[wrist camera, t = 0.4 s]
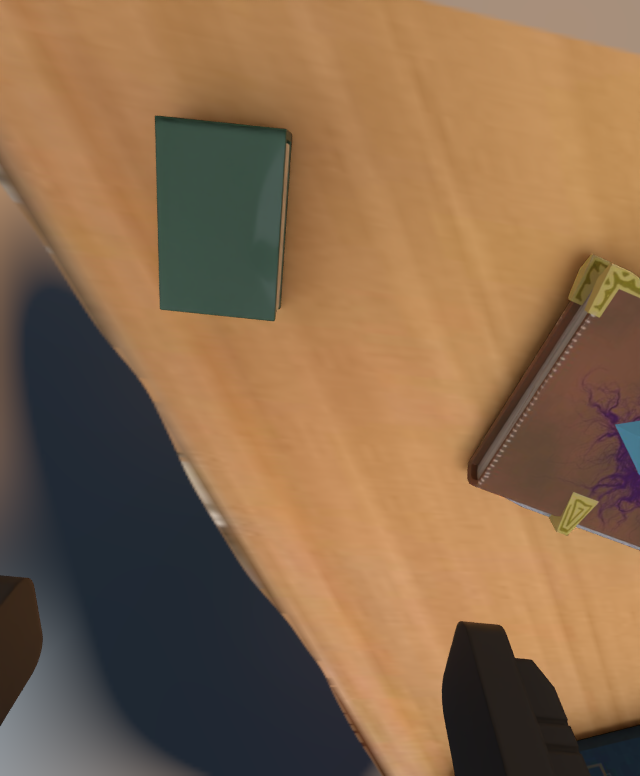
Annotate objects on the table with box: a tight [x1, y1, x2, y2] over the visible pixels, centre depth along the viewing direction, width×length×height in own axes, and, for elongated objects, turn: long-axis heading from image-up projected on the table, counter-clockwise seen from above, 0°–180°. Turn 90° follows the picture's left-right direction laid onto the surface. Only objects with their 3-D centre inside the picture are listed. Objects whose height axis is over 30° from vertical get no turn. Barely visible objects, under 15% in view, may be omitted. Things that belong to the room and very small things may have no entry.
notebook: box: [155, 116, 292, 321], centre depth 26 cm, size 9×6×3 cm, turn 175°
